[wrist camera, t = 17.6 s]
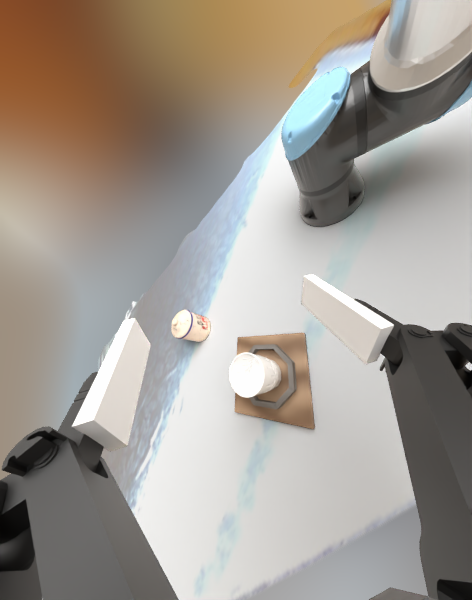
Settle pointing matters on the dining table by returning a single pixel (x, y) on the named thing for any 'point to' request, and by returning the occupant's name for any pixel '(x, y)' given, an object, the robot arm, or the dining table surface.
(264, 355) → the ring holder
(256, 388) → the white cup
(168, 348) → the dining table surface
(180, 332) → the teacup with lid
